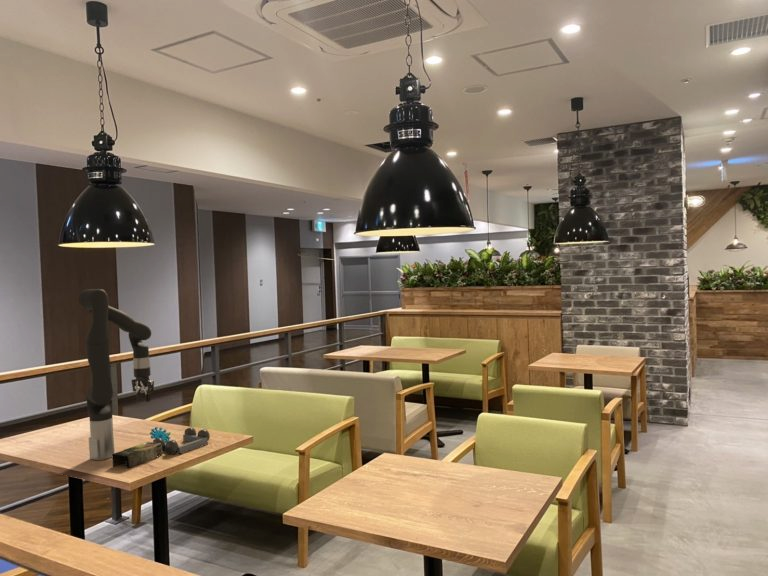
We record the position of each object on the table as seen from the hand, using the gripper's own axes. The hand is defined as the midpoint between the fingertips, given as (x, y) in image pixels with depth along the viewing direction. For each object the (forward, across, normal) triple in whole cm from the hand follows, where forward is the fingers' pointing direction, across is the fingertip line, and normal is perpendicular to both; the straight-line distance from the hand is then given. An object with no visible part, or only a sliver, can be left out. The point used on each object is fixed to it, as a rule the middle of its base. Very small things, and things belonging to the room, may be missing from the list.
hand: (143, 400), depth 283 cm
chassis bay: (+20, +26, 0) cm, 32 cm away
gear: (+20, +11, 0) cm, 23 cm away
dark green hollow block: (+20, +23, -21) cm, 37 cm away
